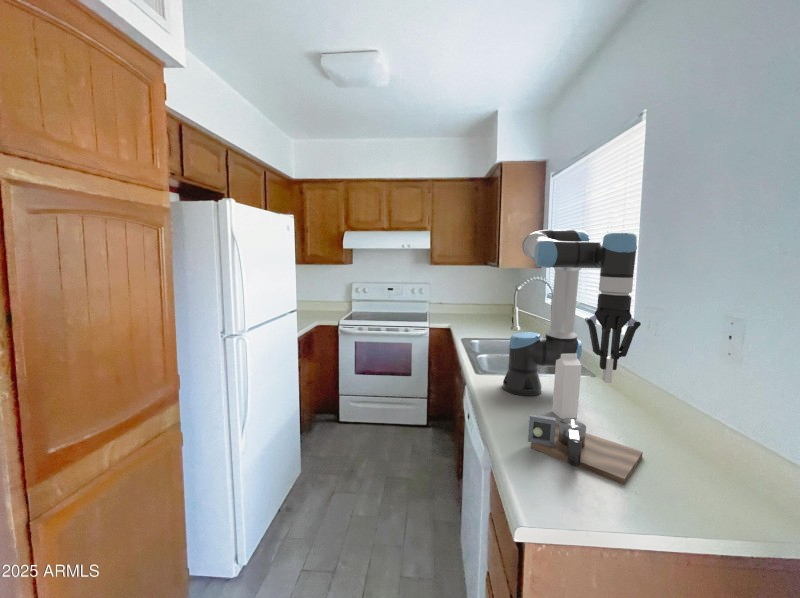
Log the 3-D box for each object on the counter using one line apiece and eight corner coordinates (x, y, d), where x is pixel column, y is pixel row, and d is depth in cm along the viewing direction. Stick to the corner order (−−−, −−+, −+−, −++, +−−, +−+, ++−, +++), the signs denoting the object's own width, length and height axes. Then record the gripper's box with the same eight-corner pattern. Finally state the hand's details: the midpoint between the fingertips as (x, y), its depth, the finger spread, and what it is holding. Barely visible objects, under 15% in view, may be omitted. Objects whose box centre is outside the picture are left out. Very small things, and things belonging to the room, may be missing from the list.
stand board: (556, 427, 122) (556, 422, 122) (642, 457, 105) (642, 450, 105) (530, 447, 109) (531, 441, 109) (624, 484, 92) (624, 477, 92)
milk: (552, 411, 134) (555, 351, 132) (568, 411, 135) (572, 351, 132) (560, 419, 128) (565, 356, 126) (577, 418, 129) (582, 355, 126)
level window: (528, 439, 111) (529, 413, 110) (553, 444, 108) (555, 418, 107) (527, 443, 108) (529, 417, 107) (553, 448, 106) (555, 422, 105)
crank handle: (558, 433, 114) (559, 414, 113) (583, 438, 112) (585, 418, 111) (559, 463, 98) (560, 441, 97) (589, 469, 96) (591, 447, 95)
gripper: (637, 292, 100) (628, 378, 103) (583, 290, 103) (577, 374, 106) (649, 296, 93) (639, 388, 96) (591, 293, 95) (583, 383, 99)
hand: (606, 380), depth 101 cm, fingers closed
